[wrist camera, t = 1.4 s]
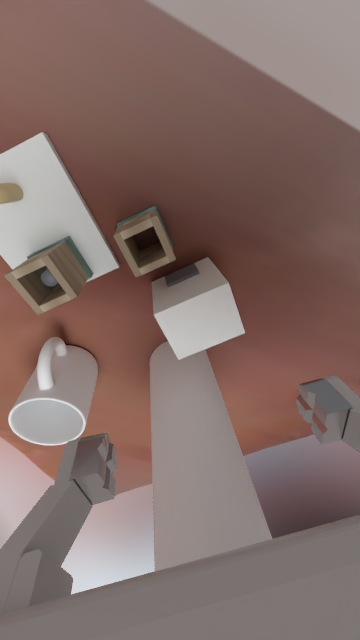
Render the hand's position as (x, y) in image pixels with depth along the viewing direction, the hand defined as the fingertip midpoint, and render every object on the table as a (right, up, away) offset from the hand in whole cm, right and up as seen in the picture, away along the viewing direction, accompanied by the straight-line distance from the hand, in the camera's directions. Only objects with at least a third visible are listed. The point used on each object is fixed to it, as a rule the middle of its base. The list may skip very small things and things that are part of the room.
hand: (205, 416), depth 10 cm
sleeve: (-5, +14, +19) cm, 24 cm away
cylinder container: (-1, -3, +30) cm, 30 cm away
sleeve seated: (-15, +11, +18) cm, 26 cm away
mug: (-18, -1, +26) cm, 32 cm away
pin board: (-16, +14, +17) cm, 28 cm away
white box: (0, +8, +23) cm, 25 cm away
